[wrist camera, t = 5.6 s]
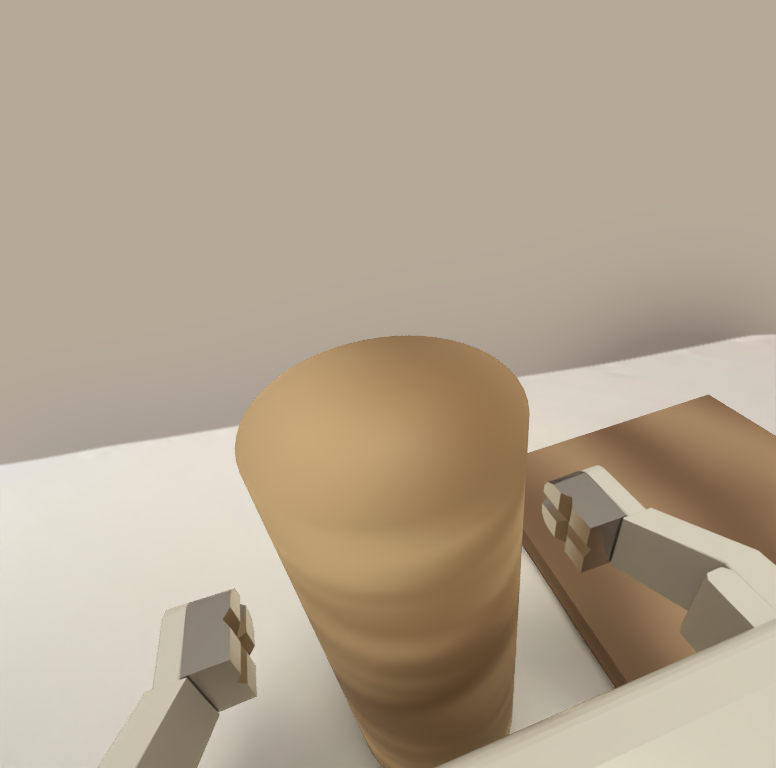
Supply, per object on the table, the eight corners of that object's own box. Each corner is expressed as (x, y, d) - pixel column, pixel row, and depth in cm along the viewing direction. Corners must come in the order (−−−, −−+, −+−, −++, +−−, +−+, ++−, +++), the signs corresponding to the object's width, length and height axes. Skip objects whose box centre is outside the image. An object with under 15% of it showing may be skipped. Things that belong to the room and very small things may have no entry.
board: (805, 977, 9) (826, 974, 9) (481, 482, 21) (481, 467, 21) (1200, 734, 11) (1237, 719, 11) (703, 409, 24) (708, 394, 23)
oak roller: (381, 825, 12) (233, 581, 5) (345, 643, 16) (235, 373, 9) (544, 752, 13) (600, 457, 6) (470, 596, 17) (454, 316, 10)
